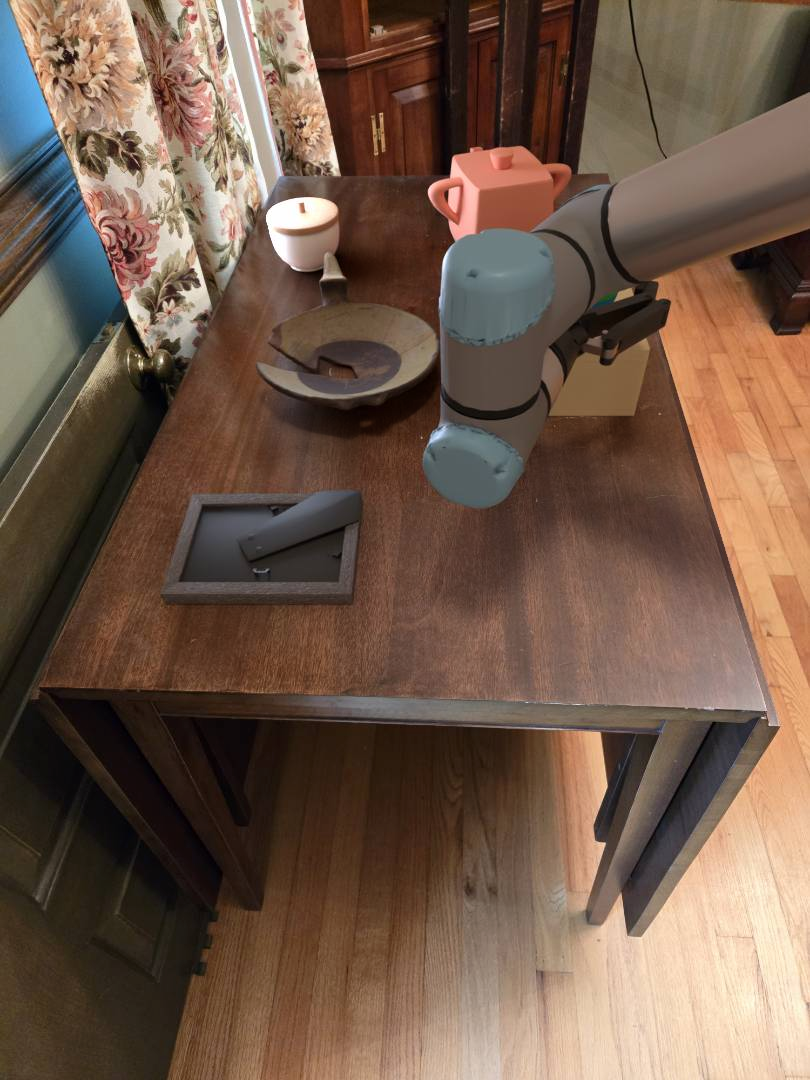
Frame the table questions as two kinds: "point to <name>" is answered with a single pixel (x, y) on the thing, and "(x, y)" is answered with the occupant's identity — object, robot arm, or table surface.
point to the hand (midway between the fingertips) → (585, 259)
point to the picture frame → (267, 549)
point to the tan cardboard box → (604, 382)
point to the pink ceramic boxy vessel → (498, 190)
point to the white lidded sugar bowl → (304, 231)
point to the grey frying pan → (351, 348)
